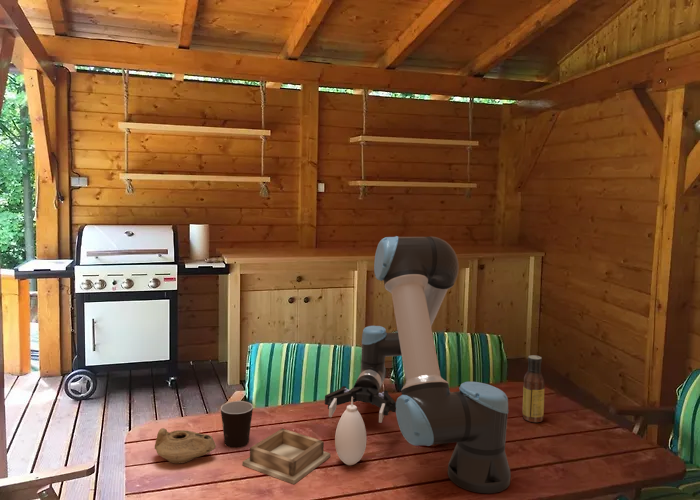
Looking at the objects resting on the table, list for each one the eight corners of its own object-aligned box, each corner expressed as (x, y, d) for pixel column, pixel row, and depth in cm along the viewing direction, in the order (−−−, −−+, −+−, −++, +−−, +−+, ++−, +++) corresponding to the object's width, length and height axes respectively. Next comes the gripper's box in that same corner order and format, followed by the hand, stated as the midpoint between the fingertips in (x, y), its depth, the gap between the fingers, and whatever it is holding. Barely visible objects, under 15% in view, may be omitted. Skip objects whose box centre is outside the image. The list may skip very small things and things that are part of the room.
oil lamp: (216, 465, 144) (216, 435, 143) (153, 472, 140) (153, 441, 139) (214, 445, 154) (214, 417, 153) (155, 451, 150) (155, 422, 149)
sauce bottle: (545, 418, 178) (550, 356, 176) (540, 425, 173) (545, 362, 170) (524, 413, 182) (528, 352, 179) (518, 419, 177) (523, 357, 174)
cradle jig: (330, 456, 150) (330, 440, 149) (293, 484, 136) (294, 466, 136) (281, 440, 158) (281, 425, 157) (242, 465, 144) (242, 448, 144)
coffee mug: (245, 451, 151) (245, 415, 150) (215, 447, 153) (215, 411, 152) (261, 432, 163) (261, 398, 161) (232, 428, 164) (232, 395, 163)
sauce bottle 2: (328, 461, 147) (330, 395, 145) (351, 452, 152) (353, 388, 150) (348, 474, 141) (350, 405, 139) (371, 464, 147) (374, 397, 144)
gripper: (408, 402, 172) (401, 433, 151) (327, 394, 176) (309, 423, 156) (409, 378, 171) (402, 406, 150) (327, 370, 175) (310, 396, 155)
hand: (355, 415), depth 153 cm, fingers open, 13 cm apart
